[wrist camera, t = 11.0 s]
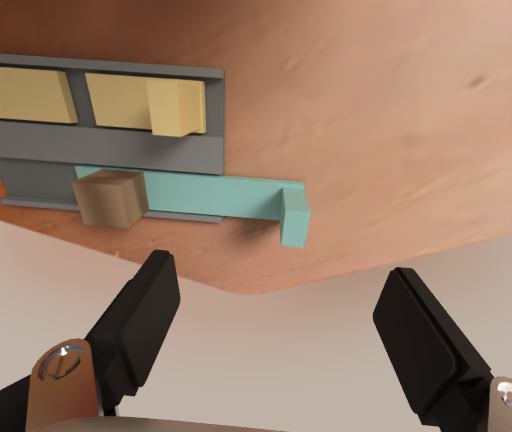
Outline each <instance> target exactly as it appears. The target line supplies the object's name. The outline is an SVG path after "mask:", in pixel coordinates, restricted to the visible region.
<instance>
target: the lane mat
mask: <svg viewBox="0 0 512 432" xmlns="http://www.w3.org/2000/svg"><path fill="white" fill-rule="evenodd" d="M85 73H92V74H107V75H121V76H136V77H150V78H164V79H179V80H193V81H203V82H205V113H206V132H205V133H193V132H191V133H189V134H186V135H184V136H182V137H176V136H163V135H153V133H152V129H140V128H127V127H113V126H100V125H97V124H96V119H95V115H94V111H93V106H92V102H91V98H90V93H89V89H88V84H87V80H86V76H85ZM81 164H86V165H98V166H111V167H123V168H136V169H149V170H161V171H174V172H186V173H199V174H212V175H224V70H223V69H219V68H205V67H190V66H175V65H160V64H146V63H131V62H116V61H102V60H87V59H72V58H58V57H43V56H28V55H14V54H0V177H1V179H2V181H3V184H4V186H5V188H6V190H7V193H8V195H9V196H7V197H4V198H1V199H0V200H1V202H2V204H3V205H15V206H27V207H39V208H51V209H62V210H74V211H80V209H79V206H78V202H77V199H76V196H75V193H74V189H73V186H72V183H71V182H72V181H75V180H77V179H78V176H77V173H76V170H75V166H78V165H81ZM143 216H145V217H157V218H169V219H181V220H193V221H204V222H216V223H222V222H223V219H224V216H221V215H209V214H197V213H185V212H173V211H161V210H148V211H147V212H146V213H145V214H144V215H143Z"/></svg>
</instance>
